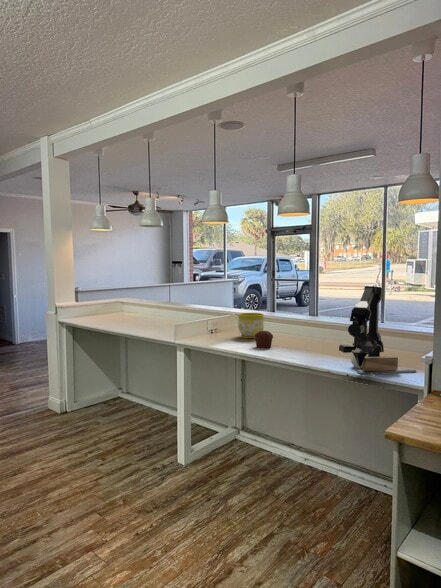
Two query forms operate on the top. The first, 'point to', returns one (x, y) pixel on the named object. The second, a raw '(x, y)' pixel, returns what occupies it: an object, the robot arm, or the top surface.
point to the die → (356, 362)
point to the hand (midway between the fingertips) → (359, 366)
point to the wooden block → (380, 363)
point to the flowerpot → (250, 324)
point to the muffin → (263, 339)
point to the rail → (387, 371)
